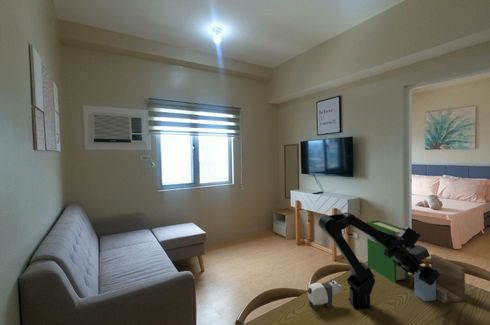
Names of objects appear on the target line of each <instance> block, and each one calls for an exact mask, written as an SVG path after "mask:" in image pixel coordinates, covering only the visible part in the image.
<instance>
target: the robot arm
mask: <svg viewBox="0 0 490 325" xmlns="http://www.w3.org/2000/svg"><path fill="white" fill-rule="evenodd" d="M318 220H319V221H318V226H319V228H321V230H323V232H324V233H325V234H326V235H327V236H328V237H330V239H331V240H332V241H333V243H334V244H335V246H336V248H337V249H338V251H339V252H340V254H341V255H342V257H343V258H344V260H345V262H346V263H347V264H348V266H349V271H350V275H349V276H348V278H346V282H347V285H349V298H348V301H349V302H350V305H352V307H353V310H370V309H372V306H371V295H372V292H373V289H374V285H375V282H376V279H375V277H376V275H375V274H373V272H372V270H371V268H370V267H368V265H366V264H365V263H364V262H362V261H359V259H358V257H357V256H356V254H355V252H354V251H353V250H352V248H351V246H350V245H349V243H348V242H347V240H346V239H345V237H344V234H343V230H345V229H346V228H348V227H349V226H352V227H354V228H356V229H358V230H359V231H361V232H363V233H365V234H366V235H367V234H368V235H369V236H370V237H371V238H372V239H373V240H374V241H376V242H377V243H378V244H380V245H382V246H383V247H385V248H387V249H384V255H385V256H387V257H389V258H391V257H392V256H393V257H394V259H393V262H394V263H395V264H396V265H397V266H399V267H401V266H402V269H404V270H405V271H407V272H409V273H412V275H414V272H416V273H418V271H420V274H419V278H418V279H420V280H421V281H423V282H425V283H426V284H428V285H432V284H434V282H435V281H436V279H437V278H438V277H439V276H440V273H439V272H438V271H437V270H436V269H434V268H432V267H431V265H424V266H423V265H422V264H424V262H423V261H424V260H425V259H427V258H429V257H431V254H430V252H429V250H428V248H427V247H425V246H422V245H420V244H417V242H419V240H420V239H421V237H422V235H421V234H420V233H418V232H416V231H415V230H414V229H412V228H410V227H409V226H407V225H404V227H402V228H403V230H402V231H401V232H400V233H399V234H398V235H397V236H396V235H394V234H389V233H387V232H385V231H382V230H379V229H376V228H374V227H372V226H370V225H369V224H367V222H365V221H363V220H362V219H360V218H358V217H357V216H356V215H354V214H352V213H351V212H346V211H345V212H343V213H337V214H332V215H322V216H321V217H320V218H319V219H318ZM402 245H403V246H405V247H407V248H408V250H409V251H408V250H407V249H405V248H404V247H403V246H402ZM413 247H414V248H413ZM417 270H418V271H417Z"/></svg>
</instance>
